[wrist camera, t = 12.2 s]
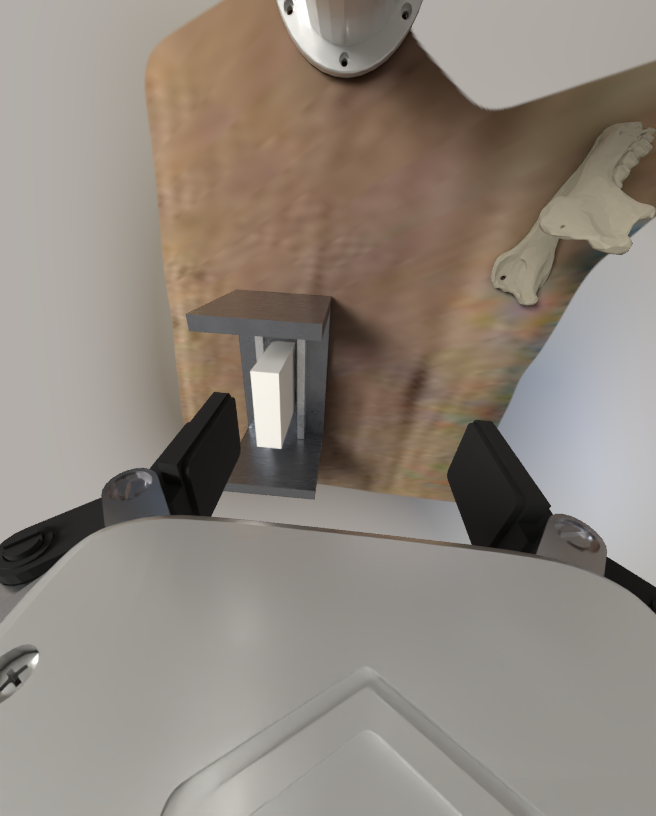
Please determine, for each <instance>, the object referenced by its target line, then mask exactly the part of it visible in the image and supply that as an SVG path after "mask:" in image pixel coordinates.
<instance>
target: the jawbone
mask: <svg viewBox="0 0 656 816" xmlns="http://www.w3.org/2000/svg"><path fill="white" fill-rule="evenodd" d="M643 127H644V126H643V125H642V123H641V122H640V121H637V122H627V123H617V124H614V125H611V126H609V127H607V128H605V129H604V131H603V132H602V134H600V135H599V136H598V138H597V139H596V141H595V143H594V145H593V147H592V149H591V150H590V152H589V153H588V155H587V156H586V158H585V159H584V161H583V162H582V164H581V165H580V166H579V167H578V169H577V170H576V171H575V172H574V173H573V174H572V175H571V177H570V178H569V179H568V180H567V181H566V183H565V184H564V185H563V186H562V187H561V188H560V189H559V190H558V192H557V193H556V194H555V195H554V196H553V198H552V199H551V200H550V202H549V203H548V204H547V205H546V206H545V207H544V208H543V209H542V211H541V213H540V215H539V218H538V220H537V221H536V223H535V224H534V226H533V227H532V229H531V230H530V232H529V233H528V234H527V236H526V237H525V238H524V239H523V240H522V241H521V242H520V243H519V244H518V245H517V246H515V247H514V248H513V249H511V250H509V251H508V252H504V253H502V254H501V255H500V256H498V257H497V259H496V261H495V263H494V266H493V269H492V272H491V278H490V279H491V281H492V283H493V285H494V287H495V288H500V289H501V290H502V291H503V292H510V293H512V294H514V296H515V297H516V298H517V300H518V302H519V304H523V305H534V304H536V303H537V300H538V298H537V296H536V293H537V290H538V288H541V287H542V286H543V284H544V283H545V282H546V280H547V278H548V276H549V274H550V272H551V268H552V265H553V261H554V254H555V249H556V246H557V244H558V241H559V238H561V239H565V240H569V239H583V240H586V241H588V242H589V244H590V245H591V247H592V248H593V249H596V250H599V251H602V252H605V253H608V254H617V255H623V254H624V253H626V252H628V251H629V249H630V247H631V246H632V244H633V243H632V241H631V239H630V238H629V237H628V234H629V232H630V230H631V228H632V226H633V225H634V224H635V223H636V222H637V221H638V220H640V219H643V218H653V216H654V215H655V213H656V211H655V208H654V207H653V206H651V205H648V204H643V203H639V202H637V201H635V200H634V199H632V198H631V197H629V196H628V195H626V194H625V193H624V192H623V191H622V190H621V188H622V186H623V185H622V182H623V181H624V180H625V179H626V178H627V177H628V176H629V174H630V170H632V167H634V166H635V165H638V164H639V161H640V158H642V157H644V156H646V155H647V154H648V153H649V151H651V150H652V148H653V147H652V145H651V144H650V143H651V142H652V141H653V140H654V137H653V136H652V135H653V134H654V133H655V132H656V129H654V128H651V127H649V128H647V129H642V128H643ZM500 276H506V278H505V279H504V280H503V281H502V280H501V279H500V278H501V277H500Z"/></svg>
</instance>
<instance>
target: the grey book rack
mask: <svg viewBox="0 0 656 816" xmlns="http://www.w3.org/2000/svg"><path fill="white" fill-rule="evenodd" d="M330 312H331V296H319V295H305V294H291V293H277V292H263V291H249V290H235V291H233V292H231V293H229V294H226V295H224V296H222V297H220V298H218V299H216V300H214V301H212V302H210V303H208V304H206V305H204V306H201V307H199V308H197V309H195V310H193V311H191V312H189V313H187V314H186V318H187V323H188V328H189V331H195V332H208V333H221V334H234V335H239V343H240V353H241V362H242V371H243V380H244V389H245V398H246V408H247V417H248V426H249V427H248V429H247V431H246V433H245V435H244V437H243V439H242V440H241V442H240V446H241V452H240V456H239V459H238V461H237V463H236V465H235V467H234V469H233V471H232V473H231V476H230V478H229V480H228V482H227V484H226V486H225V488H224V490H223V491H229V492H240V493H250V494H261V495H272V496H282V497H283V496H284V497H293V498H304V499H315V493H316V486H317V478H318V471H319V464H320V457H321V450H322V443H323V433H324V416H325V398H326V381H327V364H328V346H329V329H330ZM272 341H283V342H295V409H294V412H293V415H292V418H291V421H290V424H289V427H288V430H287V433H286V436H285V439H284V443H283V446H282V449H277V448H266V447H257V441H256V430H255V419H254V408H253V397H252V386H251V374H250V371H251V369H252V368H253V367H254V365H255V364H256V363H257V361H258V360H259V359H260V357H261V356H262V355H263V353H264V352H265V351H266V349H267V348H268V347H269V345H270V344H271V342H272Z"/></svg>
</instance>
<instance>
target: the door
mask: <svg viewBox="0 0 656 816" xmlns="http://www.w3.org/2000/svg"><path fill="white" fill-rule="evenodd" d="M250 374H251V386H252V397H253V408H254V419H255V430H256V441H257V447H266V448H277V449H282V446H283V443H284V439H285V436H286V433H287V430H288V427H289V424H290V421H291V418H292V415H293V412H294V409H295V342H283V341H272V342H271V344H270V345H269V347H268V348H267V349H266V351H265V352H264V353H263V355H262V356H261V357H260V359H259V360H258V361H257V363H256V364H255V365H254V367H253V368H252V369H251V371H250Z"/></svg>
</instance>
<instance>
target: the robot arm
mask: <svg viewBox="0 0 656 816" xmlns="http://www.w3.org/2000/svg"><path fill="white" fill-rule="evenodd" d="M276 2H277V5H278V8H279V11H280V14H281V17H282V20H283V22H284V24H285V27H286V29H287V31H288V34H289V36H290V37H291V39H292V41H293V42H294V44H295V46H296V47H297V49H298V50H299V51H300V53H301V54H302V55H303V56H304V57H305V58H306V59H307V60H308V62H309V63H311V64H312V65H313V66H315V67H316V68H318V69H319V70H320V71H322V72H324V73H327V74H329V75H332V76H335V77H343V78H350V77H356V76H361V75H364V74H366V73H368V72H370V71H373V70H374V69H376V68H377V67H379V66H380V65H381V64H383V63H384V62H385V61H387V60H388V58H389V57H390V56H391V55H392V54H393V53H394V52H395V51H396V50H397V49H398V48H399V46H400V45H401V43H402V42H403V40H404V39H405V37H406V36H407V34H408V33H409V31H410V29H411V27H412V24H413V22H414V20H415V18H416V16H417V14H418V12H419V9H420V6H421V3H422V0H276ZM289 10H293V13H292V14H291V15H288V12H289ZM404 14H406V15H407V17H408V19H407V20H404V19H403V18H402V16H403V15H404ZM343 61H346V62H347V66H346V67H343V66H342V62H343ZM240 452H241V446H240V437H239V429H238V420H237V411H236V402H235V398H233V397H231V395H230V394H229V393H220V392H214V393H213V394H212V395H211V396H210V398H209V399H208V400H207V401H206V403H205V404H204V405H203V406H202V408H201V409H200V410H199V411H198V413H197V414H196V415H195V416H194V418H193V419H192V420H191V422H188V423H187V424H186V425H185V426H184V427H183V428H182V429H181V431H180V432H179V433H178V434H177V436H176V437H175V438H174V439H173V441H172V442H171V443H170V444H169V445H168V447H167V448H166V449H165V450H164V452H163V453H162V454H161V455H160V457H159V458H158V459H157V460H156V462H155V463H154V464H153V465H152V466H151V468H150V469H147V468H135V469H131V470H127V471H125V472H122V473H120V474H118V475H116V476H115V477H113V478H112V479H111V480H110V481H109V482H108V483H106V485H105V487H104V488H103V490H102V495H101V496H102V498H99V499H97V500H94V501H92V502H89V503H87V504H85V505H82V506H79V507H77V508H75V509H72V510H70V511H67V512H65V513H62V514H60V515H57V516H55V517H53V518H50V519H48V520H45V521H43V522H40V523H38V524H35V525H33V526H31V527H28V528H26V529H24V530H22V531H19V532H18V533H15V534H14V535H12V536H11V537H9V538H8V539H6V540H5V541H4V542H2V543H1V544H0V816H656V587H654V586H653V585H651V584H650V583H648V582H646V581H645V580H643V579H642V578H640V577H638V576H637V575H635V574H634V573H632V572H630V571H629V570H627V569H626V568H624V567H622V566H621V565H619V564H618V563H616V562H615V561H613V560H611V559H610V558H608V557H607V549H606V545H605V543H604V541H603V540H602V538H601V537H600V536H599V535H598V534H597V533H596V531H594V530H593V529H592V528H591V527H590V526H588V525H587V524H585V523H583V522H582V521H580V520H578V519H576V518H574V517H572V516H569V515H565V514H554V515H553V514H552V512H551V511H550V510H549V508H550V507H551V505H550V504H549V502H548V501H547V499H546V498H545V497H544V495H543V494H542V492H541V491H540V489H539V488H538V486H537V485H536V484H535V482H534V481H533V479H532V478H531V477H530V475H529V474H528V472H527V471H526V470H525V468H524V466H523V465H522V463H521V462H520V461H519V459H518V458H517V456H516V455H515V453H514V452H513V451H512V449H511V448H510V446H509V445H508V443H507V442H506V440H505V439H504V438H503V436H502V435H501V433H500V432H499V430H498V429H497V428H496V426H495V425H494V423H493V422H491V421H483V420H475V421H474V422H473V423H470V424H469V425H468V426H467V429H466V431H465V433H464V435H463V438H462V440H461V442H460V445H459V447H458V449H457V451H456V454H455V456H454V458H453V460H452V463H451V465H450V467H449V469H448V473H447V478H448V482H449V484H450V487H451V490H452V493H453V495H454V498H455V501H456V503H457V506H458V509H459V511H460V514H461V517H462V520H463V522H464V525H465V527H466V530H467V533H468V536H469V539H470V541H471V544H472V545H467V544H458V543H450V542H441V541H432V540H424V539H416V538H406V537H399V536H390V535H381V534H372V533H363V532H354V531H345V530H335V529H326V528H318V527H309V526H299V525H290V524H280V523H270V522H261V521H252V520H242V519H230V518H220V517H211V516H212V513H213V511H214V509H215V507H216V505H217V503H218V501H219V499H220V497H221V494H222V492H223V490H224V488H225V486H226V484H227V482H228V480H229V478H230V476H231V473H232V471H233V469H234V467H235V465H236V463H237V461H238V459H239V456H240Z"/></svg>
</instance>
